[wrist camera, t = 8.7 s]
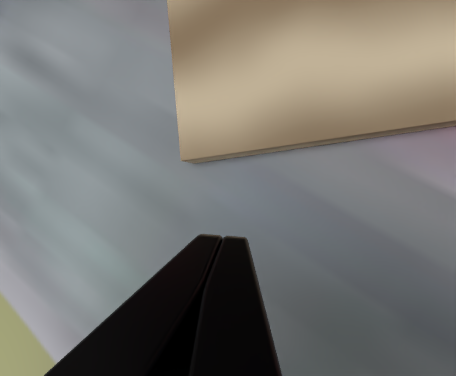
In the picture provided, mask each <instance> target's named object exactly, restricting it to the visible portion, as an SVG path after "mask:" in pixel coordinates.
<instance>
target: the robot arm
mask: <svg viewBox="0 0 456 376" xmlns="http://www.w3.org/2000/svg"><path fill="white" fill-rule="evenodd" d="M44 376H282V373H281V369H280V365H279V361H278V357H277V353H276V349H275V346H274V342H273V338H272V334H271V330H270V326H269V322H268V318H267V314H266V310H265V306H264V302H263V298H262V295H261V291H260V287H259V283H258V279H257V275H256V271H255V267H254V263H253V259H252V255H251V251H250V247H249V243H248V240H247V239H246V238H245V237H235V236H225V237H224V238H222V237H221V236H219V235H208V234H200V235H198V236H197V237H196V238H195V239H193V240H192V241H191V242H190V243H189V244H188V245H187V246H186V247H185V248H184V249H182V250H181V251H180V252H179V253H178V254H177V255H176V256H175V257H174V258H173V259H171V260H170V261H169V262H168V263H167V264H166V265H165V266H164V267H163V268H162V269H160V270H159V271H158V272H157V273H156V274H155V275H154V276H153V277H152V278H151V279H149V280H148V281H147V282H146V283H145V284H144V285H143V286H142V287H141V288H140V289H138V290H137V291H136V292H135V293H134V294H133V295H132V296H131V297H130V298H129V299H127V300H126V301H125V302H124V303H123V304H122V305H121V306H120V307H119V308H118V309H116V310H115V311H114V312H113V313H112V314H111V315H110V316H109V317H108V318H107V319H105V320H104V321H103V322H102V323H101V324H100V325H99V326H98V327H97V328H96V329H94V330H93V331H92V332H91V333H90V334H89V335H88V336H87V337H86V338H85V339H83V340H82V341H81V342H80V343H79V344H78V345H77V346H76V347H75V348H74V349H72V350H71V351H70V352H69V353H68V354H67V355H66V356H65V357H64V358H63V359H61V360H60V361H59V362H58V363H57V364H56V365H55V366H54V367H53V368H52V369H50V370H49V371H48V372H47V373H46V374H45V375H44Z"/></svg>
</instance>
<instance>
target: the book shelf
mask: <svg viewBox="0 0 456 376" xmlns="http://www.w3.org/2000/svg"><path fill="white" fill-rule="evenodd" d="M167 5H168V16H169V28H170V39H171V51H172V62H173V74H174V86H175V97H176V109H177V120H178V132H179V143H180V155H181V161H184V162H189V163H201V162H208V161H215V160H222V159H229V158H236V157H243V156H249V155H256V154H263V153H270V152H277V151H284V150H291V149H298V148H305V147H312V146H319V145H326V144H333V143H340V142H347V141H354V140H361V139H368V138H375V137H382V136H389V135H396V134H402V133H409V132H416V131H423V130H430V129H437V128H444V127H451V126H456V0H167Z"/></svg>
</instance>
